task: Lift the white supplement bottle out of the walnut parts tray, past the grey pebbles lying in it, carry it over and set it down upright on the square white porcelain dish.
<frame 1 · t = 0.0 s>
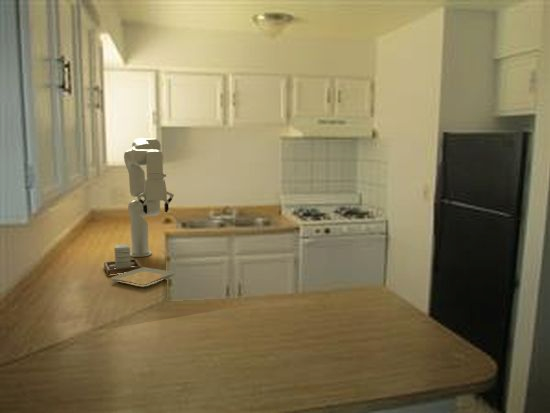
hand: (156, 212, 223), 31 cm above the worktop, tool pointing down, fingers open, 9 cm apart
pebble b: (113, 274, 230), resting in parts tray
pebble a: (131, 266, 244), resting in parts tray
supplement box: (123, 270, 237), resting in parts tray
pebble c: (112, 269, 239), resting in parts tray
parts tray: (122, 270, 237), on the worktop
salad plate: (143, 282, 219), on the worktop
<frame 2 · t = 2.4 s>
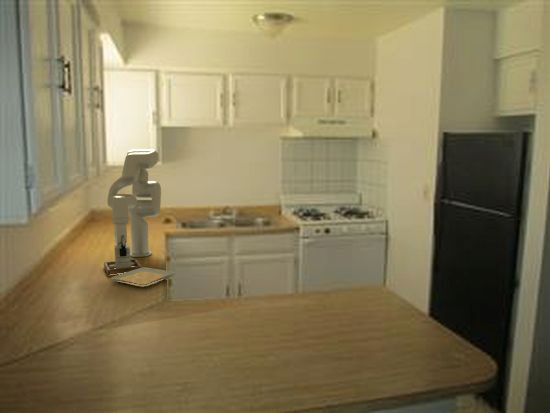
hand: (121, 254, 235), 8 cm above the worktop, tool pointing down, fingers open, 9 cm apart
nothing on the worktop moved.
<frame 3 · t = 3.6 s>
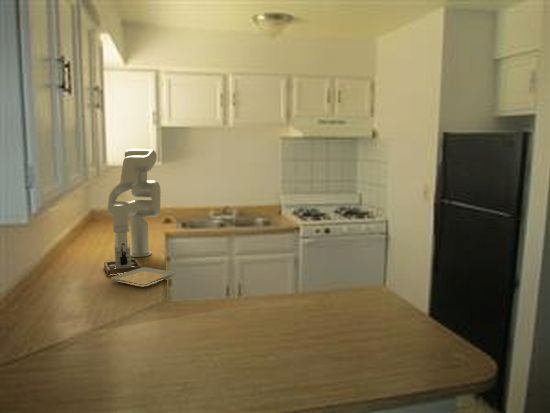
hand: (122, 262, 236), 4 cm above the worktop, tool pointing down, fingers closed on supplement box, 7 cm apart
supplement box: (123, 270, 237), resting in parts tray, touching gripper
everything else where it was.
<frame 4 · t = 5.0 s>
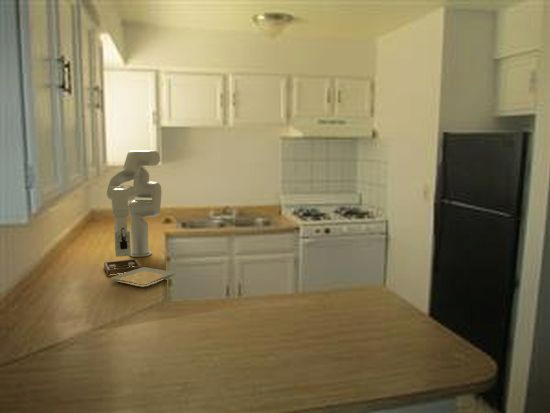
hand: (122, 246, 236), 12 cm above the worktop, tool pointing down, fingers closed on supplement box, 7 cm apart
supplement box: (123, 254, 237), point 8 cm above the worktop, touching gripper
everything else where it was.
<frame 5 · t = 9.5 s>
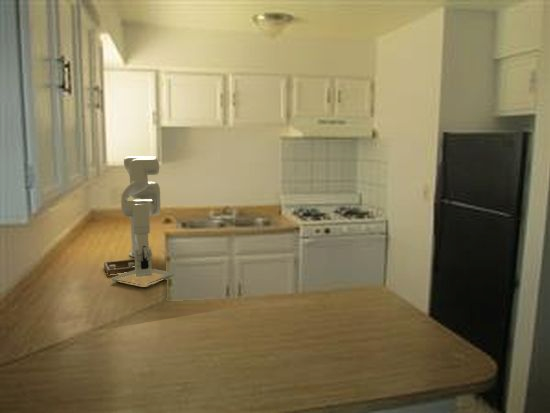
hand: (142, 266, 219), 7 cm above the worktop, tool pointing down, fingers closed on supplement box, 7 cm apart
supplement box: (143, 274, 219), point 3 cm above the worktop, touching gripper
everything else where it was.
when the fingers open (7 cm above the worktop, at t = 10.4 s): supplement box stays where it is, resting on salad plate.
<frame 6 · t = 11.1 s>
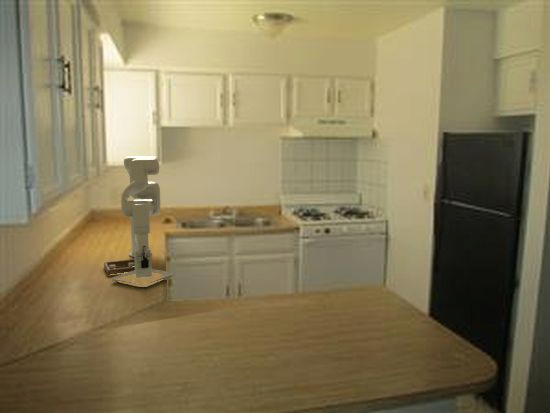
hand: (142, 265, 219), 7 cm above the worktop, tool pointing down, fingers open, 9 cm apart
supplement box: (143, 275, 219), point 2 cm above the worktop, touching salad plate
salad plate: (143, 282, 220), on the worktop, touching supplement box
everything else where it was.
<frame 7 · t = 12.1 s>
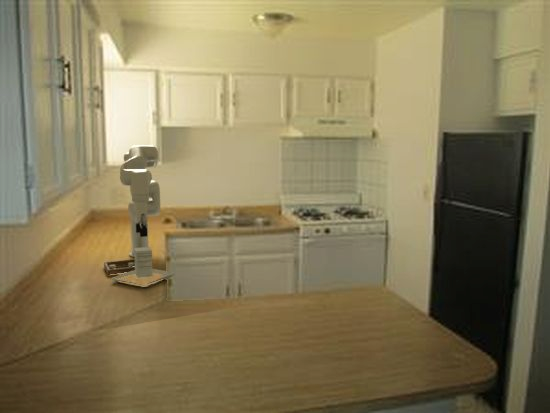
hand: (141, 234, 217), 22 cm above the worktop, tool pointing down, fingers open, 9 cm apart
nothing on the worktop moved.
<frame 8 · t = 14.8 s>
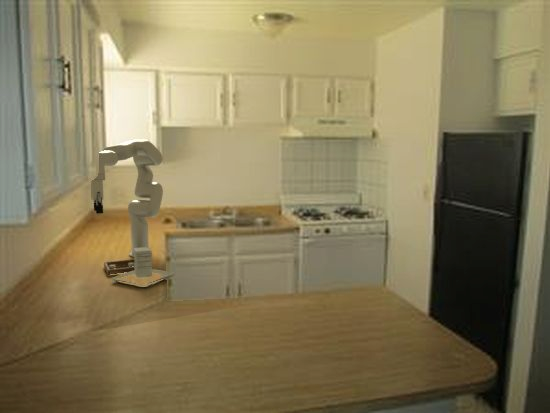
hand: (98, 211, 229), 30 cm above the worktop, tool pointing down, fingers open, 9 cm apart
nothing on the worktop moved.
at the end: supplement box 0.2 cm from the salad plate (horizontally); supplement box tilted 0°; supplement box point 2.5 cm above the worktop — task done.
